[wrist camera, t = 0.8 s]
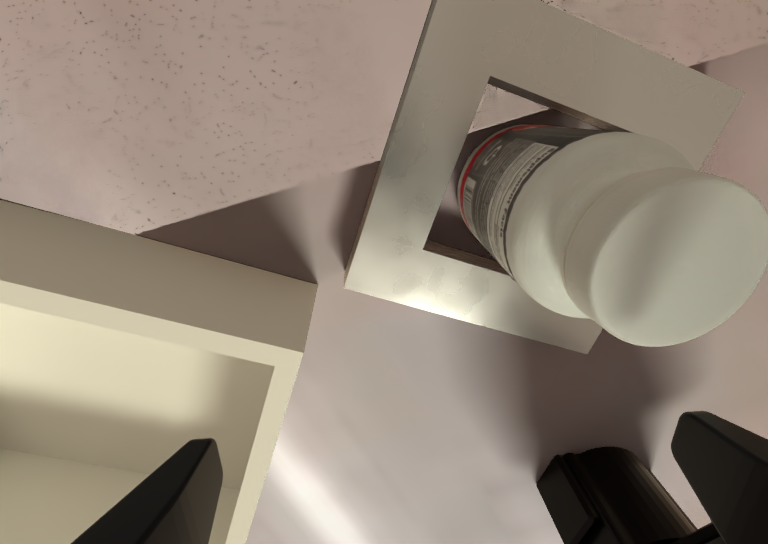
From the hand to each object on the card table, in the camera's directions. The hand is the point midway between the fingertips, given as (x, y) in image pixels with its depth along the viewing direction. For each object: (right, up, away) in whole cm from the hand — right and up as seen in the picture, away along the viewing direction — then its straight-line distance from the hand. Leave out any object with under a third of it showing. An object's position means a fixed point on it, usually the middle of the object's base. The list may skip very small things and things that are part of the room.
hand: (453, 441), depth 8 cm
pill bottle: (+4, +7, +10) cm, 13 cm away
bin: (-13, -2, +12) cm, 18 cm away
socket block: (+4, +7, +10) cm, 13 cm away
